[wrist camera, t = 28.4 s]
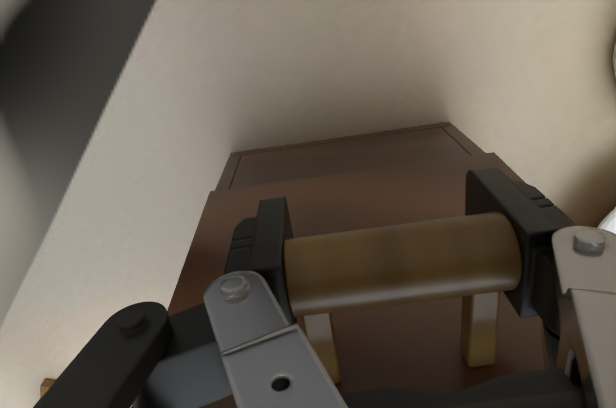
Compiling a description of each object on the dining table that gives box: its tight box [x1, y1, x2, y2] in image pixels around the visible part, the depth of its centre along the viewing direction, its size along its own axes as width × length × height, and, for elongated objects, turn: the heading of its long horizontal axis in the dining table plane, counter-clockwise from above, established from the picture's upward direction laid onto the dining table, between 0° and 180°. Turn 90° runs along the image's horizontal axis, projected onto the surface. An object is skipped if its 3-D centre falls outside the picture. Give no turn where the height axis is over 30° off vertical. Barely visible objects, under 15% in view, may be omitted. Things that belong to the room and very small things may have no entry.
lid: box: [167, 153, 545, 408], centre depth 16 cm, size 14×15×5 cm
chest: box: [215, 122, 486, 191], centre depth 29 cm, size 14×15×7 cm
